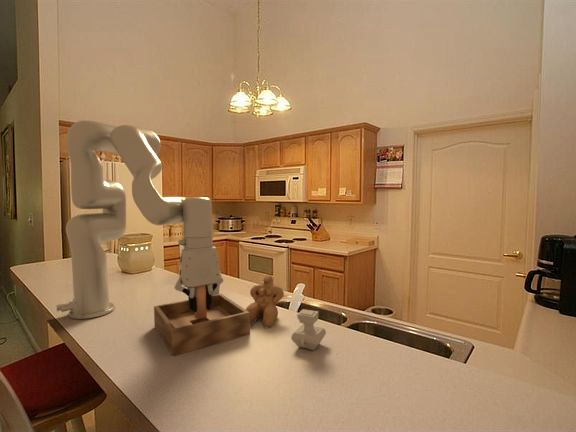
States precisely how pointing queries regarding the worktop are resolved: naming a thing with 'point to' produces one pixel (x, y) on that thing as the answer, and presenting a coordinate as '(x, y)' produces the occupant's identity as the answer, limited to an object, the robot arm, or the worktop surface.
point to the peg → (200, 302)
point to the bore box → (200, 324)
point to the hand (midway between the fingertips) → (200, 308)
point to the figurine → (265, 302)
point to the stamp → (308, 330)
